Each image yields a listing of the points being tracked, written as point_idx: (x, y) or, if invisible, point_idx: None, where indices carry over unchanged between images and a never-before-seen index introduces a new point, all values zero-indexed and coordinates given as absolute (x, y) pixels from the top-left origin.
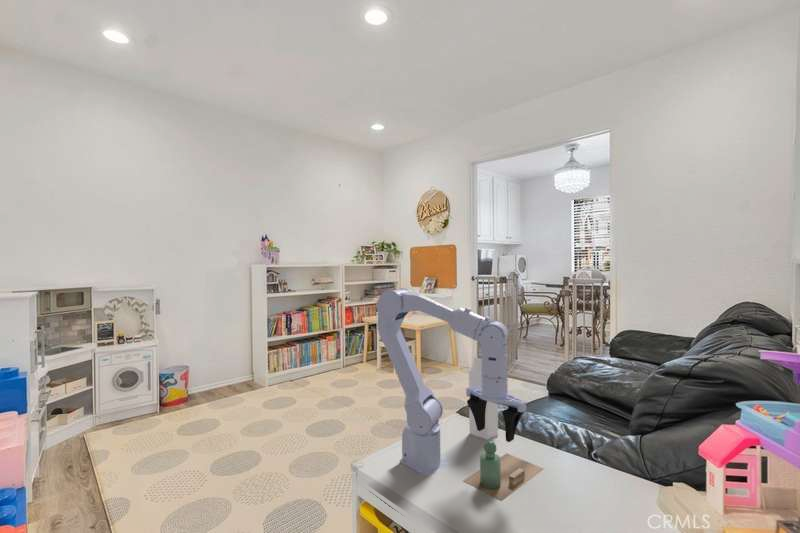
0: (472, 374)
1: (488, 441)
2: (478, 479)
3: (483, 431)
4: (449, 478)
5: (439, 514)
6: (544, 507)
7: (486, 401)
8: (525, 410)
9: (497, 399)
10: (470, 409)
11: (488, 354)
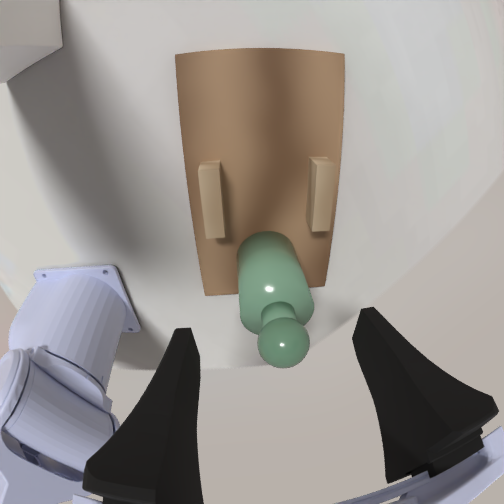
0: None
1: (282, 365)
2: (228, 265)
3: (28, 55)
4: (168, 297)
5: (252, 363)
6: (401, 223)
7: (164, 470)
8: (496, 430)
9: None
10: None
11: None
